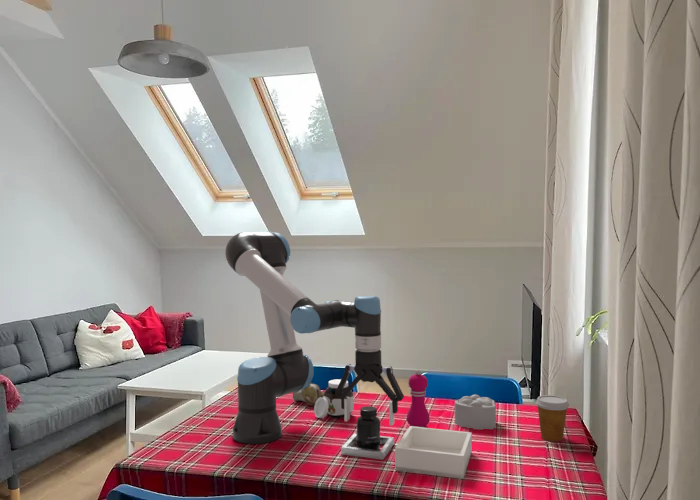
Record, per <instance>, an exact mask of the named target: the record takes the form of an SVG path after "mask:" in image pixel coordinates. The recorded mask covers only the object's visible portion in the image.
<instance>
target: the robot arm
mask: <svg viewBox="0 0 700 500" xmlns="http://www.w3.org/2000/svg"><path fill="white" fill-rule="evenodd" d="M224 253H225V259H226V261H227V263H228V265H229V267H230V268H231V269H232V270H233V271H234V272H235V273H236V274H237V275H239V276H241V277H246V278H247V279H248V280H249V281H250V282H251V283H253V284H254V285H255V286H256V287H257V288H258V289H259V294H260V297H261V303H262V308H263V313H264V319H265V324H266V330H267V336H268V341H269V346H270V351H269V352H268V354H266V355H267V356H259V357H254V358H250V359H248V360H244V361H243V362H241V364H240V365H239V366H238V370H237V371H238V372H237V376H236V377H237V378H236V381H237V409H238V411H237V415H236V418H235V421H234V425H233V427H232V439H233V440H234V441H236V442H238V443H241V444H246V445H260V444H267V443H270V442H271V443H272V442H274V441H276V440H278V439H280V438H281V437H282V435H283V426H282V423H281V420H280V418H279V413H278V412H277V398H278V397H283V396H286V395H289V394H293V392H298V391H300V390H302V389H304V388H306V387H307V386H308V385H309V384H310V382H311V383H312V380H313V377H314V364H313V362H312V359H311V358H310V356H308V355H307V354H304V352H303V347H301V346H300V345H299V344H298V343H297V340H296V334H295V332H296V333H299V334H311V333H312V334H313V333H317V332H321V331H325V330H331V329H336V328H340V327H341V328H342V327H343V328H344V327H345V328H346V327H347V328H354V342H355V343H354V345H355V346H354V347H355V349H356V350H355V351H354V353H355V358H354V359H355V365H352V364H351V363H348V364H347V365H345V366H344V373H343V375H342V377H341V378H340V379H341V381H340V383H339V386H338V388H337V390H336V392H335V395H336V396H339V397H340V398H341V408H342V409H344V418H343V419H344V422H348V421H349V420H350V419H351V414H350V397H347V395H348V394H349V393H350V391H351V390H353V389H354V388H355V387H356V385H358V384H359V382H360V381H362V382H363V383H365V382H367V383H368V382H369V383H374V382H375V383H376V384H377V385H378V386H379V387H380V388H381V390H382V391H383V392H384V394H386V395H387V398H388V399H389V400H390V401H389V402H388V403H389V405H388V406H389V407H388V409H389V410H388V411H389V413H388V414H389V426H394V424H395V414H397V413H398V410H399V409H398V406H399V405H398V402H401V401H402V400H403V399H404V398H405V396H404V393H403V392H402V389H401V387H400V385H399V383H398V381H397V379H396V377H395V375H394V371H393V367H392V366H391V365H389V366H387V367H383V366H382V350H381V348H382V332H381V324H382V323H381V322H382V321H381V319H382V316H381V315H382V314H381V313H382V310H381V309H382V308H381V300H380V298H379V297H378V296H376V295H358V296H355V298H354V301H346V300H345V301H343V300H338V299H335V300H327V301H326V302H324V303H318V304H317V303H315V302H314V301H313V300H312V299H310V298H309V297H308V296H307V295H305V294H304V293H303V292H302V291H301V290H300V289H299V288H298V287H296V286H295V285H294V284H292V283H291V282H290V281H289V280H288V279H287V278H286V277H285V276H284V273H285V271H286V270H287V263H288V262H289V260H290V256H291V246H290V244H289V242H288V240H287V239H286V237H285V236H284V235H282V234H281V233H279V232H272V231H253V232H252V231H250V232H249V231H247V232H246V231H243V232H240V233H237V234H234V235H233V236H231V238H230V239H229V240H228V242H227V243H226V246H225V252H224ZM353 371H354V373H355V374H356V375H357V376H355V378H354V379H353V380H352V381H351V383H350V384H348V388H347V389H346V390H345V391H344V392H342V390H343V388H344V386H345V384H346V382H347V381H348V380H349V377H350V375H351V373H353ZM382 373H384V375H385V376H386V377H387V379H388V381H389V384H390V386H391V387H390V386H389V384H388V383H387V382H386V381H385V380H384V378H383V376H382Z"/></svg>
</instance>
